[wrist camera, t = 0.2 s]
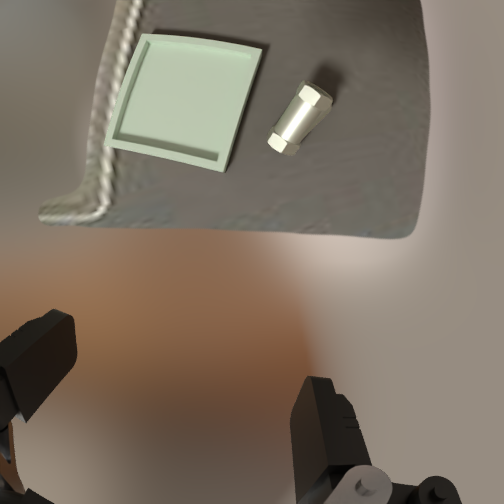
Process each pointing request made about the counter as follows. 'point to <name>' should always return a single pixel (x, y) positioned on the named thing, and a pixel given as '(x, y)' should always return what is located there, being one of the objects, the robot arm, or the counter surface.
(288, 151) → the pipe fitting
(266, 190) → the counter surface
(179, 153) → the tray
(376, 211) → the counter surface
